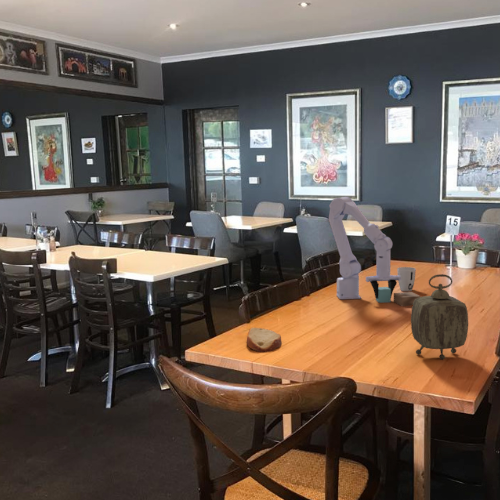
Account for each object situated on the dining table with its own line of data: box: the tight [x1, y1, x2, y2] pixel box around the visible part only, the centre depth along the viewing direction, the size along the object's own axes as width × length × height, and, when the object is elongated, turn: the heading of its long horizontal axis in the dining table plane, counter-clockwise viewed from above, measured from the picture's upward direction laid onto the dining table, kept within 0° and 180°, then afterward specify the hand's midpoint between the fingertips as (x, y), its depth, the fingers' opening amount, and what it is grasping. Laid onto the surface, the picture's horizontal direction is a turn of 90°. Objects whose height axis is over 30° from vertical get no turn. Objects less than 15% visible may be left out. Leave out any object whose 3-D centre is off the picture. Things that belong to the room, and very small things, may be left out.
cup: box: [396, 266, 416, 292], centre depth 253 cm, size 8×8×10 cm
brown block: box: [393, 291, 421, 307], centre depth 229 cm, size 8×8×4 cm
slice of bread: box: [246, 327, 282, 353], centre depth 184 cm, size 18×18×4 cm
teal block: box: [375, 286, 392, 304], centre depth 234 cm, size 5×5×6 cm
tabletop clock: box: [410, 273, 469, 361], centre depth 162 cm, size 14×9×25 cm, turn 92°
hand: (383, 297), depth 234 cm, fingers closed on teal block, 5 cm apart
